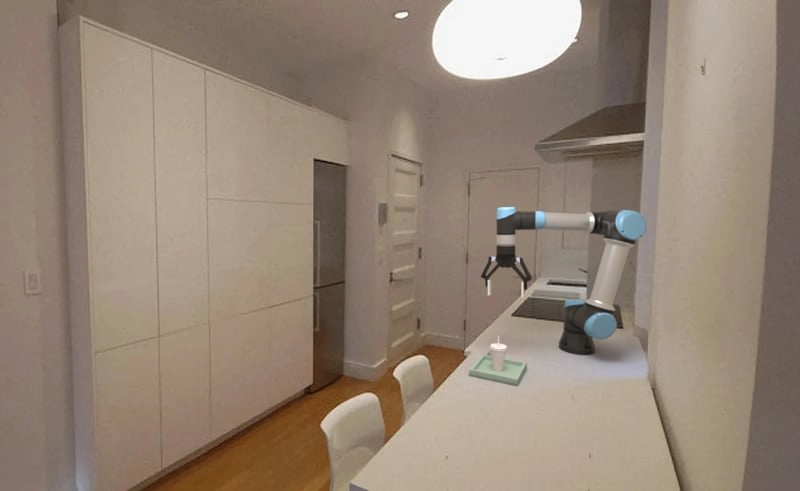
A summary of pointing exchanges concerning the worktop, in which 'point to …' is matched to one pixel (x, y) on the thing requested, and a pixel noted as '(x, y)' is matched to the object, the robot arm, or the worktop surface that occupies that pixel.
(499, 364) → the smoothie
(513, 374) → the tray
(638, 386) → the worktop surface
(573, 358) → the worktop surface
